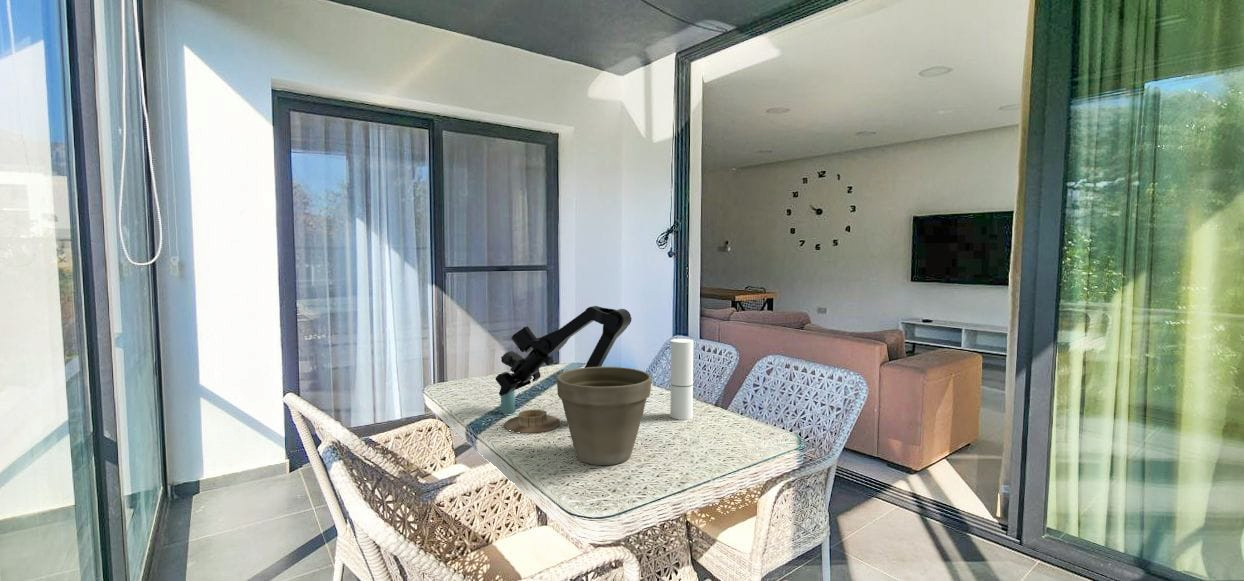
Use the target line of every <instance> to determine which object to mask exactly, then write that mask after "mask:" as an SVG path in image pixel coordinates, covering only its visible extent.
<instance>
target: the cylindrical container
mask: <svg viewBox="0 0 1244 581" xmlns="http://www.w3.org/2000/svg"><path fill="white" fill-rule="evenodd" d="M693 404H694V340H693V339H689V338H673V339H671V340H670V416H669V417H670V418H671V417H672V418H671V419H673V418H674V419H673V420H676V419H678V421H688V419H689V420H691V419H693V411H694V408H693V407H694V406H693Z"/></svg>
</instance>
